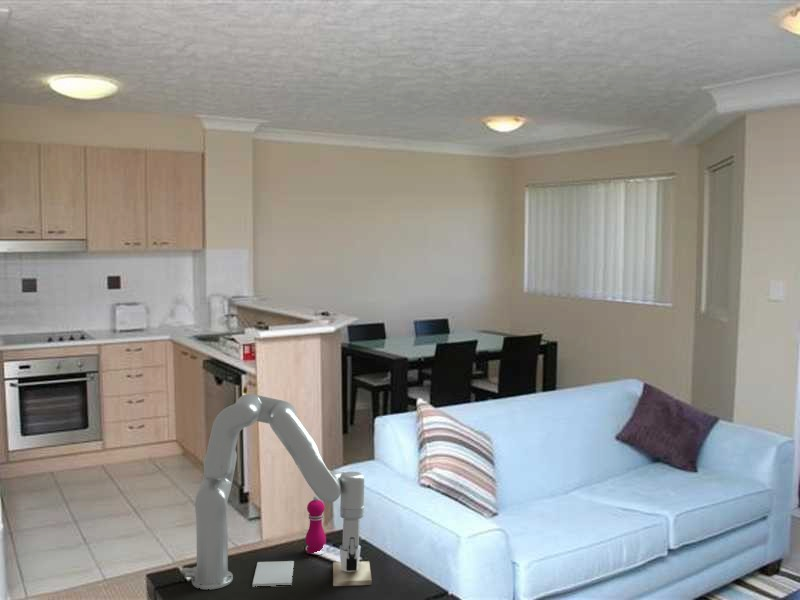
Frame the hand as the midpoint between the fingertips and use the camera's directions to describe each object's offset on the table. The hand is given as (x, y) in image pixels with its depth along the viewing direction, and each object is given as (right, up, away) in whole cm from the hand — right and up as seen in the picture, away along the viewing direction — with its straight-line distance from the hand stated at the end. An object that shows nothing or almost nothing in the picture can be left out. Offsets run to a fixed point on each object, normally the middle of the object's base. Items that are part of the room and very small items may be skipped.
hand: (351, 565), depth 233 cm
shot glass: (0, -1, 0) cm, 1 cm away
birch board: (0, -3, 0) cm, 3 cm away
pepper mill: (-14, -2, +18) cm, 23 cm away
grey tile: (-25, -3, 0) cm, 25 cm away
